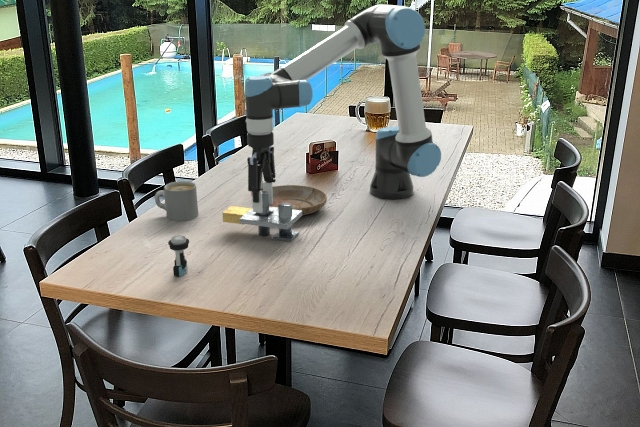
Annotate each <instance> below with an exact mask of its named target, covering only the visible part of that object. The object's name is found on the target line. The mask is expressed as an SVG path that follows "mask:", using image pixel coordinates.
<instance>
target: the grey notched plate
mask: <svg viewBox="0 0 640 427" xmlns="http://www.w3.org/2000/svg"><path fill="white" fill-rule="evenodd" d="M302 216H303V215H302V210H294V209H292V204H291V203H280V204H278V208H276V207H269V217H262V216H258V213H257V212H253V207H243V206H236V205H234V206H233V205H230V207H228V208H226V209H225V210H224V211H222V223H230V224H236V225H237V224H238V225H249V226H257V227H258V226H264V227H270V228H271V229H273V228H274V229H278V231H277V232H276V233H275V234H274V235H272V240H277V241H283V242H284V241H285V242H291V243H292V242H293V241H294V240H295V239H296V238H297V237H298V236H299V235H300V231H295V230H293V225H294V224H295V223H296V222H297V221H298V220H299V219H300V218H301V217H302Z"/></svg>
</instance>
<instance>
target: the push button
mask: <svg viewBox="0 0 640 427" xmlns="http://www.w3.org/2000/svg"><path fill="white" fill-rule="evenodd" d="M167 242H168V246H169V249H170V250H171V251H173V252H174V253H175V259H174V265H173V267H172V269H173V276H174V277H183V276H184V274H187V273H188V261H187V259H186V256H185V250H187V249H188V248H189V243H190V239H188V238H187V237H186V236H184V235H180V234H179V235H174V236H172V237H171V239H169V240H168V241H167Z"/></svg>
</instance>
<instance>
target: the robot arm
mask: <svg viewBox="0 0 640 427" xmlns="http://www.w3.org/2000/svg"><path fill="white" fill-rule="evenodd" d="M425 29H426V27H425V22H424V18H423V17H422V15H421V14H420V13H419V12H418V11H417V10H415V9H414V8H412V7H408V6H406V5H393V4H386V3H385V4H384V3H383V4H382V3H380V4H376V5H372V6H370V7H368V8H366V9H364V10H362V11H361V12H359V13H358V14H356V15H355V16H353V17H352V18H350V19H348V20H346V21H345V23H344V25H343V27H341V29H339V30H337V31H336V32H334V33H332V34H330V35H329V36H328V37H326V38H325V39H323V40H321V41H319V42H318V43H317V44H315V45H313V46H312V47H310V48H309V49H308V50H306V51H304V52H303V53H302V54H300V55H298V56H296V57H295V58H293V59H292V60H290V61H288V62H287V63H285V64H284V65H282V66H281V67H279V68H277V69H275V70H274V71H272V72H263V73H261V74H260V75H252V76H249V77H246V79H245V81H244V100H245V113H246V114H245V115H246V116H245V117H246V119H245V124H246V131H247V134H246V143H247V146H248V147H250V148H252V152H251V156H250V157H249V156H248V157H247V169H248V170H247V181H248V182H247V190H248V192H251V195H252V196H251V197H252V208H253V212H257V213H262V212H263V208H262V191H260V188H261V178H262V175H263V191H267V192H269V204H273V189H272V187H273V183H276V181H277V180H276V179H275V178H276V166H275V155H274V153H275V147H274V146H273V145H274V144H275V142H274V141H275V140H274V139H275V138H274V111H275V110H283V109H291V108H301V107H305V106H309V105H310V104H311V103H312V100H313V88H312V85H311V83H310V82H309V79H311V78H313V77H314V76H316V75H317V74H319V73H320V72H322V71H324V70H325V69H327V68H329V67H330V66H331V65H333V64H334V63H336V62H338V61H339V60H340V59H342V58H343V57H346V56H347V55H349V54H350V53H351V52H353V51H355V50H357V49H359V50H363V49H364V48H365V47H367V46H369V45H373V44H380V50H381V55H382V57H384V58H385V59H386V60H387V61H388V62H387V63H388V69H389V75H390V81H391V82H390V83H391V87H392V94H393V101H394V107H395V112H396V114H395V115H396V119H397V120H396V121H397V126H387V127H381V128H379V129H378V130H377V131H376V135H375V140H374V141H375V163H374V164H375V169H374V174H373V176H372V179H371V182H370V185H369V193H370V194H371V195H372V196H374V197H377V198H380V199H388V200H398V199H405V198H409V197H411V196H412V195H414V184H413V180H412V176H415V177H419V178H424V177H428V176H430V175H432V174H433V173H434V172H435V171H436V170H437V168H438V167H439V165H440V164H441V161H442V151H441V148H440V146H438V145H437V144H436V143H434V141H433V133H432V130H431V129H429V128H428V127H427V125H426V118H425V111H424V105H423V104H424V103H423V96H422V89H421V82H420V74H419V69H418V59H417V54H418V53H419V51H420V50H421V45H420V44H421V42H422V41H423V37H424V36H425V32H426V30H425Z"/></svg>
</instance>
